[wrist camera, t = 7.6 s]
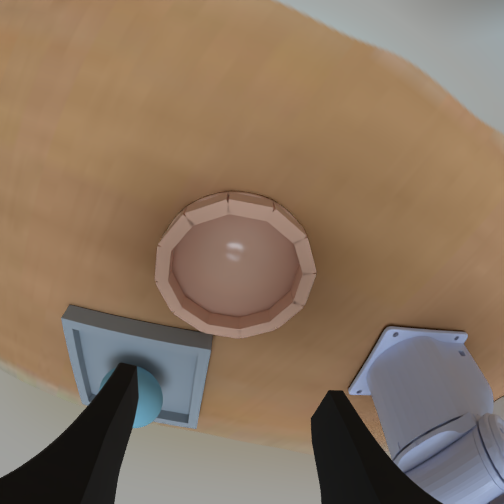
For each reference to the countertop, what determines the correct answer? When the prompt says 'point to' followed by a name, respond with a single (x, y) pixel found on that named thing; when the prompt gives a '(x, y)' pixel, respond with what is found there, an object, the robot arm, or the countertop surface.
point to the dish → (235, 265)
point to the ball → (144, 397)
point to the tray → (139, 358)
